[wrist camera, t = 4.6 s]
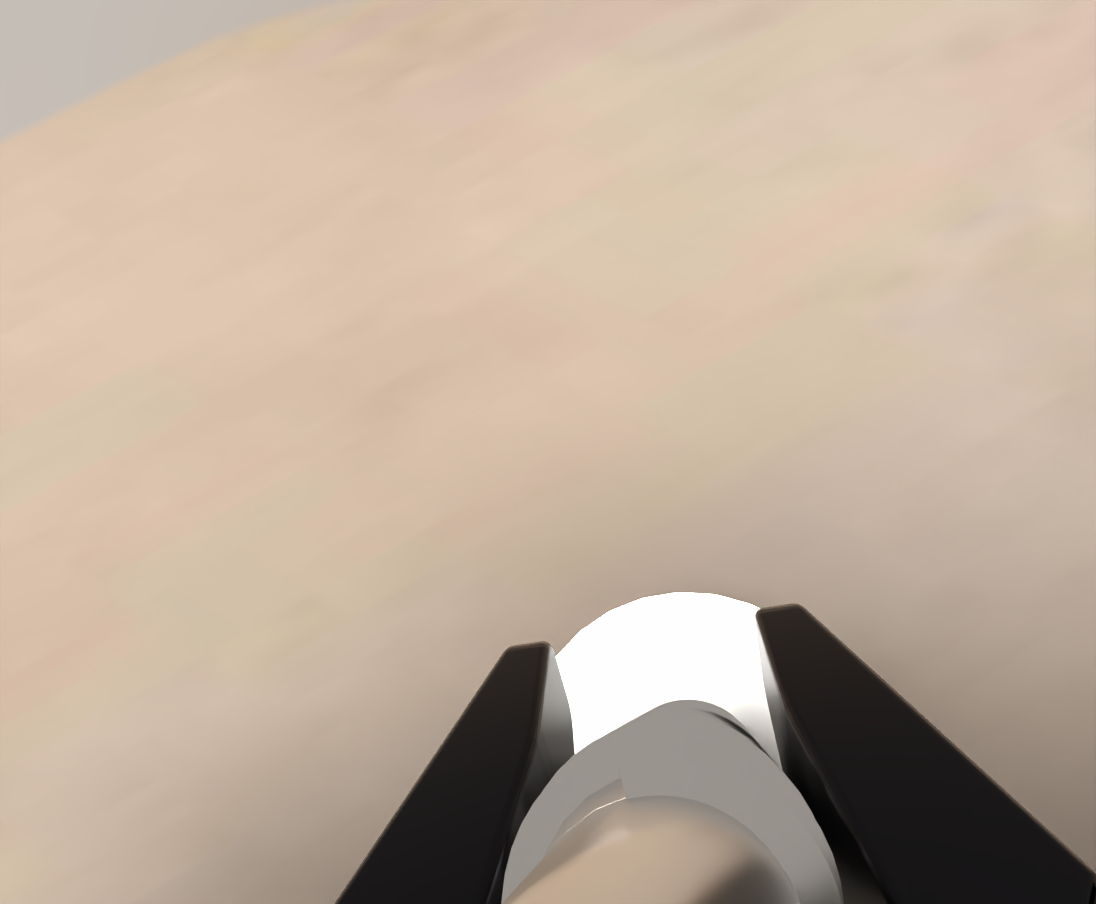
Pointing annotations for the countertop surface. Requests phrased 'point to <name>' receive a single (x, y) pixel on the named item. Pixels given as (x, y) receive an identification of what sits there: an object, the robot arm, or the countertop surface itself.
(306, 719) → the countertop surface
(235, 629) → the countertop surface
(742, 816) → the screw
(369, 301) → the countertop surface
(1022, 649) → the countertop surface
